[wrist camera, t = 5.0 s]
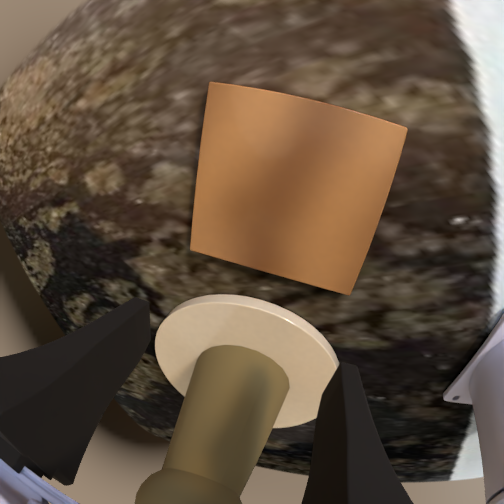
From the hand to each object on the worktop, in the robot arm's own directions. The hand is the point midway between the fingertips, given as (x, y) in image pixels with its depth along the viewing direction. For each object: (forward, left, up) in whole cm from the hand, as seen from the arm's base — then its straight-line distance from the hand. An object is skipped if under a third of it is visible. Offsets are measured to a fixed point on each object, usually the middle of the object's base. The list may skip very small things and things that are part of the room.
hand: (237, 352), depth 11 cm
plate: (0, +8, -5) cm, 9 cm away
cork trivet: (0, -4, -5) cm, 7 cm away
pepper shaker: (0, +8, -5) cm, 9 cm away
